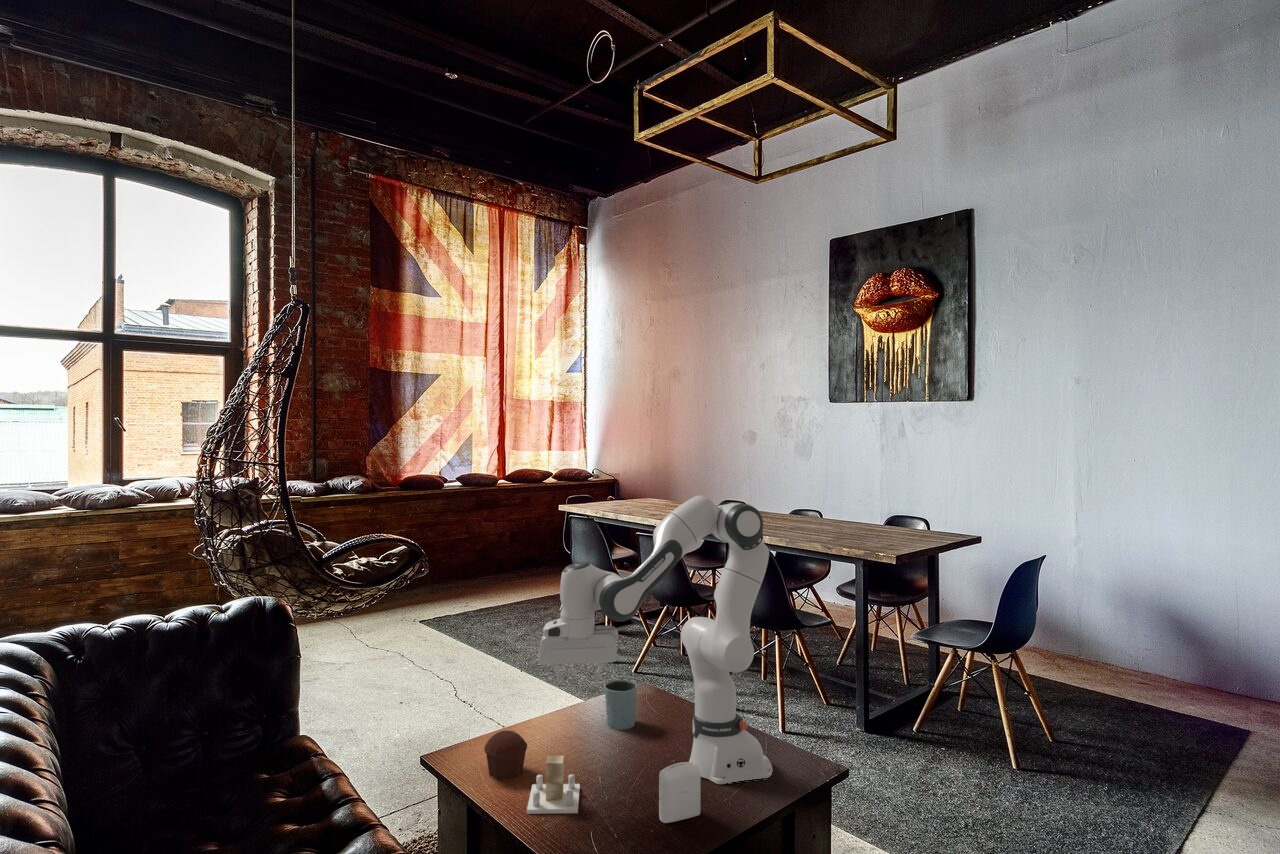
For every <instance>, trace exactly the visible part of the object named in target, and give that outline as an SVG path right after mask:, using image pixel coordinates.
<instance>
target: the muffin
mask: <svg viewBox="0 0 1280 854" xmlns="http://www.w3.org/2000/svg"><path fill="white" fill-rule="evenodd" d="M527 749H528V743H527V742H526V741H525V739H524V738H523V737H522V736H521V735H520V734H519V733H517V732H516V731H513V730H500V731H498V732H496V733H495V734H493V735H492V736H491V737H490V738H489V739H488V740H487V742H486V743H485V745H484V748H483V751H484V752H485V754H486V761H487V767H488V775H490V777H491V776H493V777H494V778H493V777H492V778H493V779H495V778H496V779H495V780H503V779H504V780H505V781H508V780H510V779H514V778H517V777H519V776H520V775H521V774H523V770H524V763H525V758H526V757H525V756H526V752H527Z"/></svg>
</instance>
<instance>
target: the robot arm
mask: <svg viewBox="0 0 1280 854" xmlns="http://www.w3.org/2000/svg"><path fill="white" fill-rule="evenodd" d="M763 530H764V520H763V516H762V513H761V512H760V511H759V510H758V509H757V508H756V507H754V506H753V505H750V504H747V503H739V502H730V503H727V504H718V505H716V504H715V503H714V502H713V501H712V499H710V498H709V497H707V496H704V495H699V494H698V495H695V496H693V497H691V498H689V499H688V500H686V501H684V502H683V503H681V504H679V505H678V506H677V507H675V508H674V509H673V510H672V511H671V512H669V513H668V514H667V515H665V517H663V518H662V519H661V520H660V522H659V523H658V524H657V526H656V527H655V528H654V531H653V533H652V538H653V539H652V540H653V550H652V553H650V555H649V556H648V557H647V558H646V559H645V560H644V562H642V564H640V565H639V566H638V567H637V568H636V569H635V570H634V571H633V573H631V574H630V575H628V576H626V577H622V576H620V574H617V573H615V572H613V571H608V570H604V569H601V568H599V567H596V566H595V565H593V564H592V563H590V562H588V561H578V562H573V563H571V564H569V565H567V566H565V567H564V569H562V572H561V576H560V577H561V578H560V584H559V585H560V587H559V589H560V590H559V599H560V603H561V611H560V617H559V618H556V619H554V620H551V621H548V622H546V623H545V624H544V627H543V633H542V634H543V635H542V637H541V638H540V639H541V641H540V644H539V649H538V662H539V663H540V665H542V666H545V665H546V666H547V665H548V666H549V665H552V670H553V671H554V673H555V675H556V681H557V682H563V681H564V671H560V670H559V665H569V664H570V665H573V664H598V665H597V667H598V668H597V670H594V671H593V680H594V681H596V680H597V681H599V680H600V679H601V678H600V677H601V676H600V674H601V673H602V670H603V669H604V667H605V666H604V664H605V663H614V662H616V661H617V660H618V650H617V641H618V640H619V631H618V629H617V628H616V627H615V626H613V625H612V624H609V625H608V624H607V625H595V624H596V618H595V617H596V616H595V614H596V613H595V612H596V611H599V610H601V611H602V612H603V614H604V615H605V616H606V617H607V618H608V619H609V620H611V621H614V622H626V621H628V620H631V619H632V618H633V617H635V615H636V614H637V613H638V612H639V610H640V608H641V606H642V604H643V602H644V600H645V599H646V597H647V596H648V594H650V592H651V591H652V590H654V588H655V587H657V585H658V584H659V583H660V582H661V581H662V580H663V579H664V578H665V577H666V576H667V575H668V574H669V573H670V572H671V571H672V570H673V568H675V566H676V565H677V564H678V562H680V560H681V559H682V558H683V557H684V556H686V554H687V553H688V552H689V551H691V550H692V549H693V548H694V547H695V546H696V545H697V544H698V543H699V542H701V540H702V539H704V538H705V537H707V536H709V535H710V536H711V537H712V538H713V539H714V540H717V541H719V542H724V543H728V547H729V554H728V559H727V561H726V562H725V565H724V568H723V570H722V572H721V575H720V577H719V580H718V582H717V585H716V587H715V589H714V592H713V597H714V601H715V605H716V612H715V613H716V614H715V619H713V618H710V617H705V616H693V617H691V618H689V619H688V620H687V621H686V622H685V623H684V624H683V625H682V628H681V632H680V639H681V642H682V644H683V646H684V648H685V650H686V653H687V655H688V661H689V663H690V666H691V671H692V673H691V674H692V677H693V685H694V712H693V713H692V714H693V716H692V734H693V741H692V747H691V753H690V757H689V761H688V762H692V763H696V764H697V765H698V766H699V769H700V778H704V779H707V780H709V781H711V782H713V783H715V784H716V785H725V784H726V785H727V783H728V784H733V783H732V782H737V783H739V782H738V781H744V780H752V779H761V778H768V777H770V776H771V775H772V772H774V771H773V766H772V765H773V764H772V763H771V761H770V759H769V758H768V757H767V756H766V755H764V751H763V748H762V745H761V743H760V742H759V740H758V739H757V738H756V736H754V735H752V734H751V733H750V732H748V731H747V729H748V724H747V722H746V721H745V720H744V719H743V717H742V715H740V713H738V712H737V705H736V704H737V687H736V684H735V682H734V680H733V678H732V676H731V674H730V673H736V674H737V673H742V672H744V671H745V670H747V669H748V668H749V667H750V665H751V664H752V662H753V661H754V660H753V659H754V656H755V649H754V645H753V643H752V640H751V629H750V628H751V618H752V617H751V616H752V612H753V608H754V605H755V602H756V600H757V598H758V597H757V596H758V595H759V591H760V589H761V587H762V583H763V580H764V578H765V575H766V572H767V568H768V564H769V558H770V550H769V548H768V546H767V545H766V544H765V543H764V542H763V540H764V534H763ZM772 776H773V775H772Z"/></svg>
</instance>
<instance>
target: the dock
mask: <svg viewBox="0 0 1280 854" xmlns="http://www.w3.org/2000/svg"><path fill="white" fill-rule="evenodd" d="M535 776H536V777H535V779H536V781H535V782H536V783H533V784H532V785H531V789H530V793H529V799H528V802H527V806H526V814H527V815H535V814H536V815H539V814H540V815H541V814H544V815H545V814H554V815H555V814H579V803H580V802H579V801H580V791H581V784H580V783H576V782H575V780H576V774H573V773H571V774H568V781H567V782H568V783H563V799H562V800H558V801H546V783H544V779H543V778H544V775H542V774H537V775H535Z"/></svg>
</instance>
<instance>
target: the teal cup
mask: <svg viewBox="0 0 1280 854" xmlns="http://www.w3.org/2000/svg"><path fill="white" fill-rule="evenodd" d="M637 692H638V684H637V683H636V682H634V681H632V680H627V679H617V680H616V679H615V680H612V681H608V682H606V683H605V684H604V696H605V709H606V710H605V711H606V723H607V726H608V727H609V728H611V729H613V730H619V731H620V730H621V731H622V730H624V731H625V730H629V729H631V728H634V726H635V725H636V711H637V709H636V708H637V695H638V694H637Z"/></svg>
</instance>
